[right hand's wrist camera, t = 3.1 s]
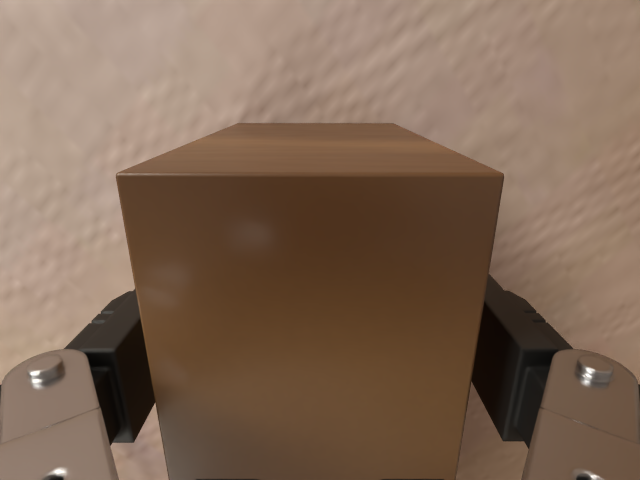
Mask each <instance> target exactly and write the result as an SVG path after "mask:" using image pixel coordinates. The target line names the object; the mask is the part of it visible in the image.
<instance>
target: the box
mask: <svg viewBox="0 0 640 480" xmlns="http://www.w3.org/2000/svg"><path fill="white" fill-rule="evenodd" d="M116 180H117V186H118V192H119V197H120V203H121V209H122V214H123V220H124V226H125V232H126V237H127V243H128V249H129V254H130V260H131V266H132V271H133V277H134V283H135V289H136V294H137V300H138V306H139V311H140V317H141V323H142V328H143V334H144V340H145V346H146V351H147V357H148V363H149V368H150V374H151V380H152V385H153V391H154V397H155V402H156V408H157V414H158V420H159V425H160V431H161V437H162V442H163V448H164V454H165V459H166V465H167V471H168V477H169V480H196V479H259V480H381V479H444V480H455V479H456V473H457V467H458V460H459V454H460V448H461V442H462V436H463V429H464V423H465V417H466V411H467V404H468V398H469V392H470V386H471V380H472V373H473V367H474V361H475V355H476V349H477V342H478V336H479V330H480V324H481V318H482V311H483V305H484V299H485V293H486V286H487V280H488V274H489V268H490V262H491V255H492V249H493V243H494V237H495V231H496V224H497V218H498V212H499V206H500V199H501V193H502V187H503V181H504V174H503V173H501V172H499V171H496V170H494V169H492V168H490V167H488V166H485V165H483V164H481V163H479V162H477V161H475V160H472V159H470V158H468V157H466V156H464V155H461V154H459V153H457V152H455V151H453V150H450V149H448V148H446V147H444V146H442V145H439V144H437V143H435V142H433V141H431V140H428V139H426V138H424V137H422V136H420V135H417V134H415V133H413V132H411V131H409V130H407V129H404V128H402V127H400V126H398V125H396V124H377V123H237V124H235V125H233V126H230V127H228V128H225V129H223V130H220V131H218V132H216V133H213V134H211V135H208V136H206V137H203V138H201V139H199V140H196V141H194V142H191V143H189V144H186V145H184V146H181V147H179V148H177V149H174V150H172V151H169V152H167V153H164V154H162V155H160V156H157V157H155V158H152V159H150V160H147V161H145V162H143V163H140V164H138V165H135V166H133V167H130V168H128V169H126V170H123V171H121V172H118V173H117V174H116Z"/></svg>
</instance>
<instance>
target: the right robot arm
mask: <svg viewBox="0 0 640 480" xmlns="http://www.w3.org/2000/svg"><path fill="white" fill-rule="evenodd" d="M471 381H472V383H473V385H474V387H475V389H476V390H477V392H478V394H479V396H480V398H481V400H482V402H483V404H484V406H485V408H486V410H487V412H488V413H489V415H490V417H491V419H492V421H493V423H494V425H495V427H496V429H497V431H498V433H499V434H500V436H501V438H502V440H503V441H524V442H525V443H526V445H527V447H528V449H529V451H528V455H527V459H526V463H525V467H524V471H523V474H522V478H521V480H640V385H638V381H637V379H636V377H635V376H634V375H633V374H632V373H631V372H630V371H629V370H628V369H627V368H626V367H624V366H623V365H621V364H620V363H618V362H616V361H614V360H612V359H610V358H608V357H606V356H603V355H601V354H598V353H594V352H590V351H586V350H579V349H573V348H572V347H571V346H570V345H569V344H568V343H567V342H566V341H565V340H564V339H563V338H562V337H561V336H560V335H559V334H558V333H557V332H556V331H555V330H554V328H553V327H552V326H551V325H550V324H549V323H546V322H545V319H544V318H543V317H542V316H541V315H540V314H539V313H536V310H535V309H534V308H533V307H532V306H531V305H530V304H529V303H528V302H527V301H526V300H524V299H523V298H521V297H519V296H517V295H515V294H514V293H512V292H510V291H504V290H503V289H502V287H501V286H500V285H499V284H498V283H497V282H496V281H495V280H494V279H493V278H492V277H491V276H490V275H489V274H488V280H487V286H486V293H485V299H484V305H483V311H482V318H481V324H480V330H479V336H478V342H477V349H476V355H475V361H474V367H473V373H472V380H471ZM154 404H155V397H154V391H153V385H152V380H151V374H150V368H149V363H148V357H147V351H146V346H145V340H144V334H143V328H142V323H141V317H140V311H139V306H138V300H137V294H136V289H135V290H134V291H129V292H127V293H125V294H123V295H121V296H120V297H118V298H116V299H114V300H112V301H111V302H110V303H109V304H108V305H107V306H106V307H105V308H104V309H103V310H102V311H101V314H98V315H97V316H96V317H95V318H94V319H93V320H92V323H89V324H88V325H87V326H86V327H85V328H84V329H83V330H82V331H81V332H80V333H79V334H78V335H77V336H76V337H75V338H74V339H73V340H72V341H71V342H70V343H69V344H68V345H67V346H66V347H65V348H64V349H61V350H54V351H50V352H46V353H42V354H39V355H37V356H34V357H32V358H30V359H28V360H26V361H24V362H22V363H20V364H19V365H17V366H16V367H14V368H13V369H12V370H11V371H10V372H9V373H8V374H7V375H6V376H5V377H4V379H3V381H2V385H0V480H119V478H118V474H117V471H116V467H115V463H114V459H113V455H112V451H111V447H110V446H111V444H112V443H134V441H135V439H136V437H137V436H138V434H139V432H140V430H141V428H142V426H143V424H144V422H145V421H146V419H147V417H148V415H149V413H150V411H151V409H152V407H153V405H154ZM196 480H259V479H196ZM381 480H444V479H381Z"/></svg>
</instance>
